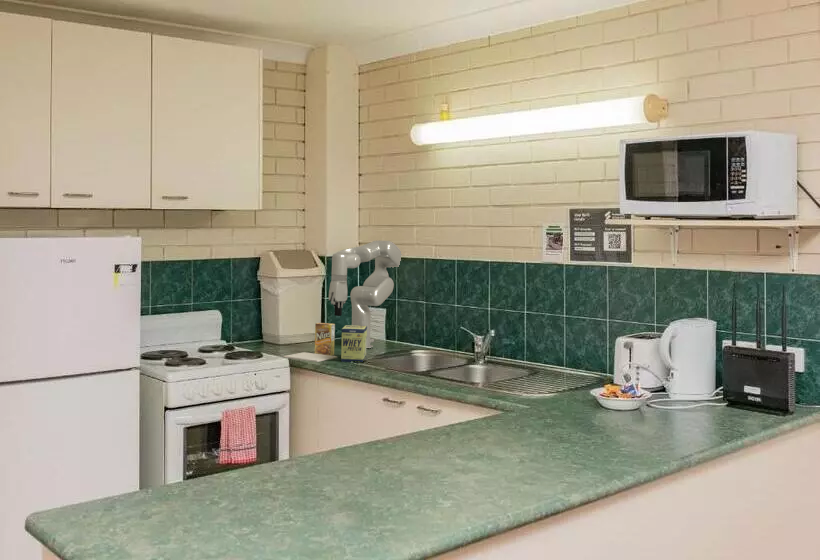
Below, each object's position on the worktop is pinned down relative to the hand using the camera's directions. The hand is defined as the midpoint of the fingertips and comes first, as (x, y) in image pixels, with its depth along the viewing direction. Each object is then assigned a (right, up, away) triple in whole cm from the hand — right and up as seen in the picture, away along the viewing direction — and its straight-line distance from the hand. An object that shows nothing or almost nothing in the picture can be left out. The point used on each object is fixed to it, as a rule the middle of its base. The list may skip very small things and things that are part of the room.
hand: (338, 315), depth 445 cm
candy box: (-6, -19, -8) cm, 21 cm away
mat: (-12, -19, -17) cm, 28 cm away
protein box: (+9, -20, -20) cm, 30 cm away
